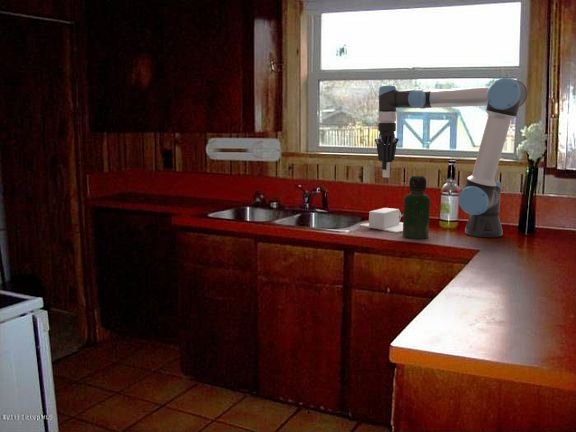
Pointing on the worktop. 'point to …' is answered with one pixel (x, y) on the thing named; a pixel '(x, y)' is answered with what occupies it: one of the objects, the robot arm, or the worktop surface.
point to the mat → (391, 229)
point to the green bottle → (416, 210)
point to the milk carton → (384, 218)
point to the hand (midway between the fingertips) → (386, 177)
